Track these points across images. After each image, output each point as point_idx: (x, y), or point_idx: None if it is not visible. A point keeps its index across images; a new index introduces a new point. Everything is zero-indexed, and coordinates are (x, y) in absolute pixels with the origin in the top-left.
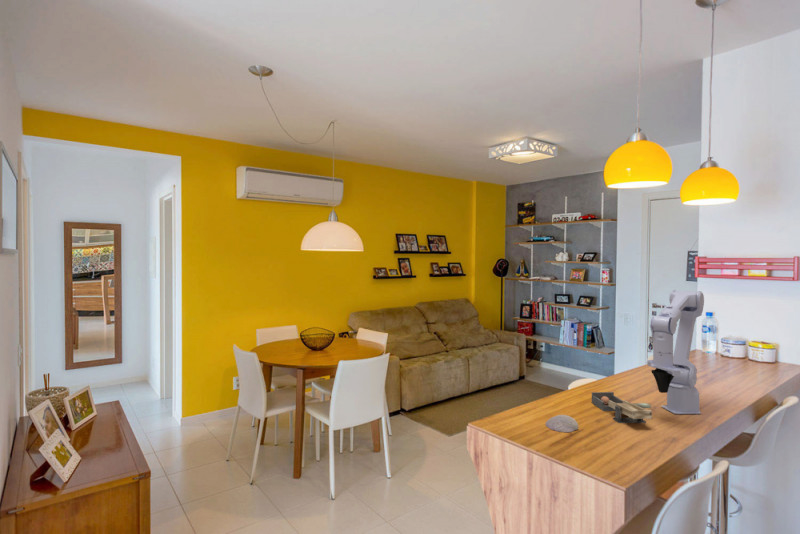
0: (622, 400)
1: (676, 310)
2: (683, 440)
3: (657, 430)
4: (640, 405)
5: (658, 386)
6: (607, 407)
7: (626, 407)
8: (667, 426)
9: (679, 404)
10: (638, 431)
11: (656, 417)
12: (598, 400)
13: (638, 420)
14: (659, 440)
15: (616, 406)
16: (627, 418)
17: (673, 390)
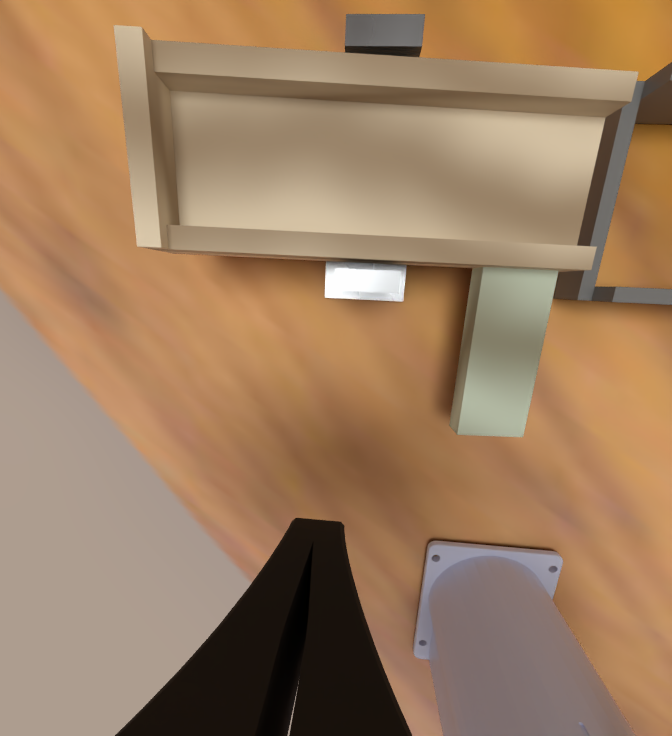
0: (656, 303)
1: None
2: (79, 338)
3: (208, 289)
4: (470, 354)
5: (318, 567)
6: (608, 131)
7: (429, 184)
8: (265, 386)
9: (452, 617)
10: None
11: (404, 417)
12: None
13: None
14: (62, 202)
15: (397, 14)
16: None
17: (523, 714)
